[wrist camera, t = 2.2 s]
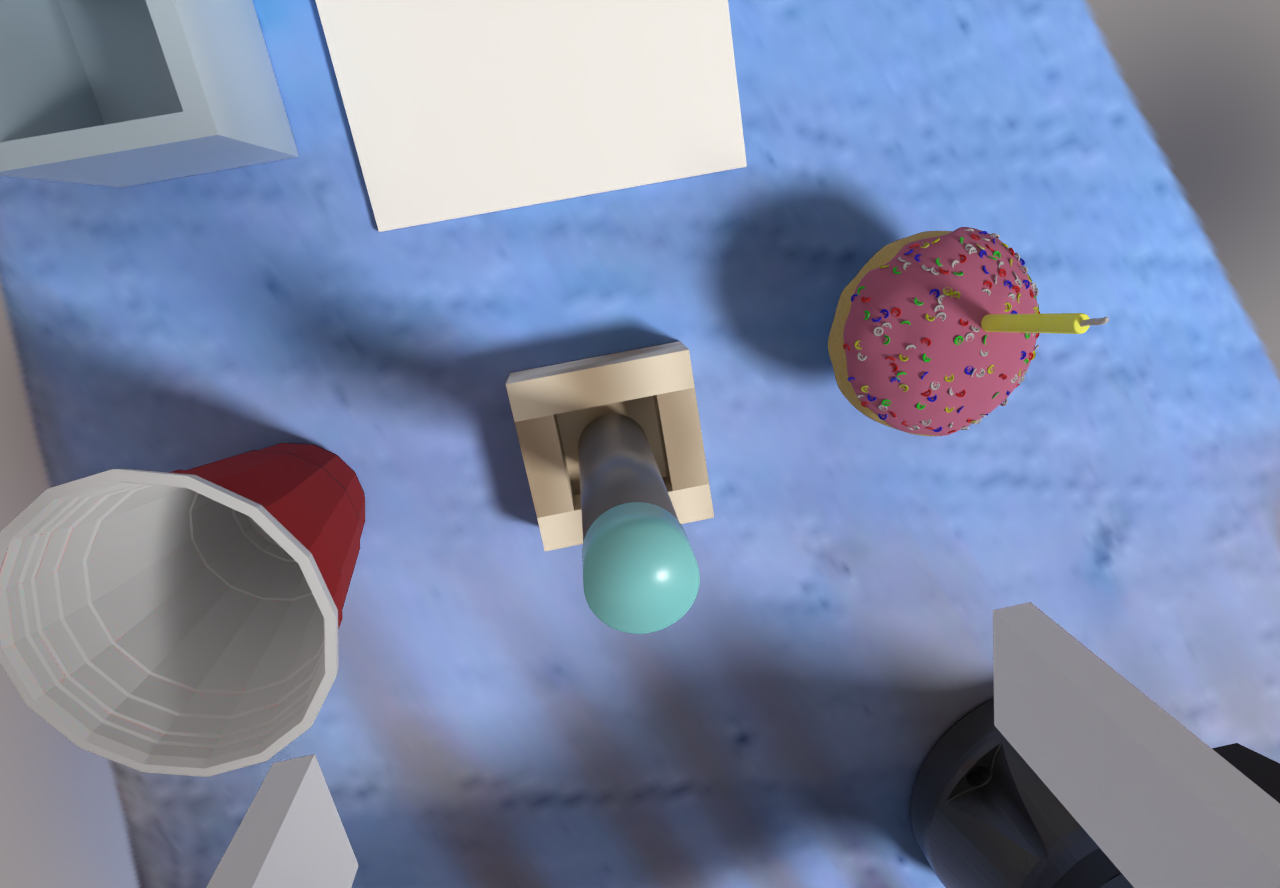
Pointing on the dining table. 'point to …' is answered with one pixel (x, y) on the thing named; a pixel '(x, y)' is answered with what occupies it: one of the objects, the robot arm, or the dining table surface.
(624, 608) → the marker
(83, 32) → the pen pot
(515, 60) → the paper
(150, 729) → the plastic cup
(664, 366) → the marker stand
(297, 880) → the robot arm
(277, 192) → the dining table surface
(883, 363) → the cupcake
